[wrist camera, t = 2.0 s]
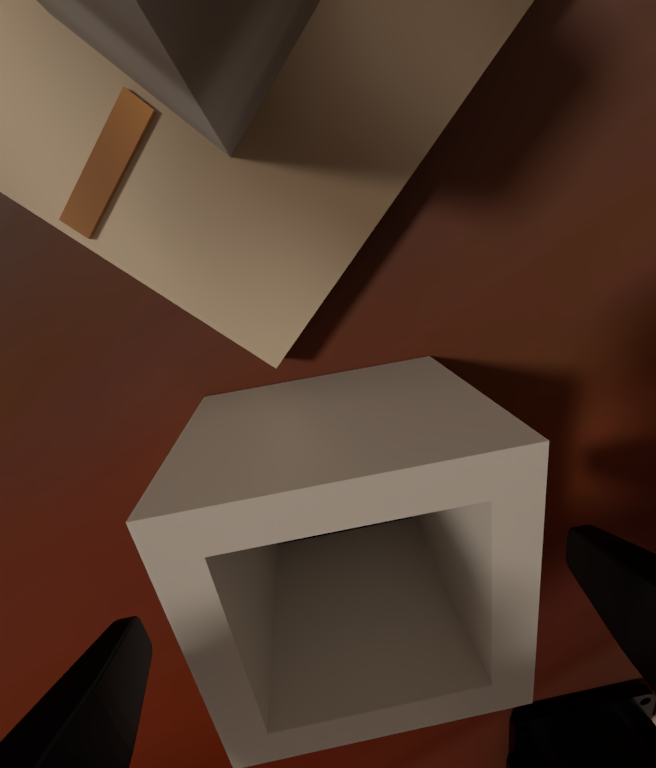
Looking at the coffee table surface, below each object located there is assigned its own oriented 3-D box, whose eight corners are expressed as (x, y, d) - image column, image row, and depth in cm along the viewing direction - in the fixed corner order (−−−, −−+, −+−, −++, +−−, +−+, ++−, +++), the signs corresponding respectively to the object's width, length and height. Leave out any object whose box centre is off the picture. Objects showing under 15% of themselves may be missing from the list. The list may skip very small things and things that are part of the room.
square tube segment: (429, 356, 10) (549, 440, 5) (440, 533, 12) (532, 703, 8) (167, 403, 10) (55, 536, 5) (226, 576, 12) (185, 780, 7)
